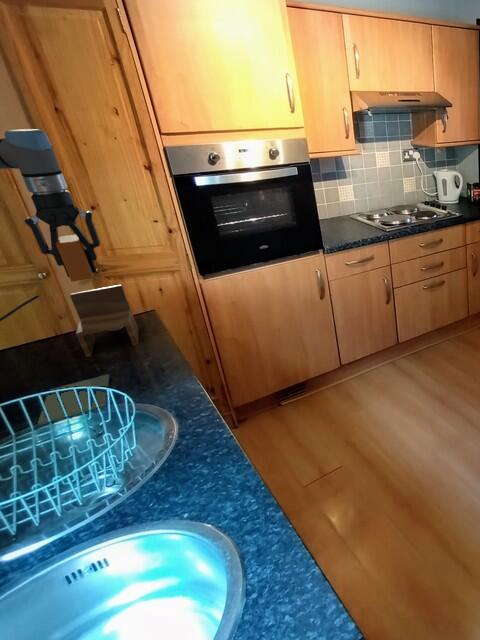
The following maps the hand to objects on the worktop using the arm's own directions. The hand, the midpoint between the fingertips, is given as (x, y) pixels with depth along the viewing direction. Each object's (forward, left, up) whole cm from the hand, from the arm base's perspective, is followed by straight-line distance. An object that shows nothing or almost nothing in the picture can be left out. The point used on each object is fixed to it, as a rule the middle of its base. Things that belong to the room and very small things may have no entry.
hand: (82, 273), depth 128 cm
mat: (+29, -6, -24) cm, 38 cm away
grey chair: (-1, 0, -24) cm, 24 cm away
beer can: (-12, 0, -24) cm, 27 cm away
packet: (0, 0, -1) cm, 1 cm away
